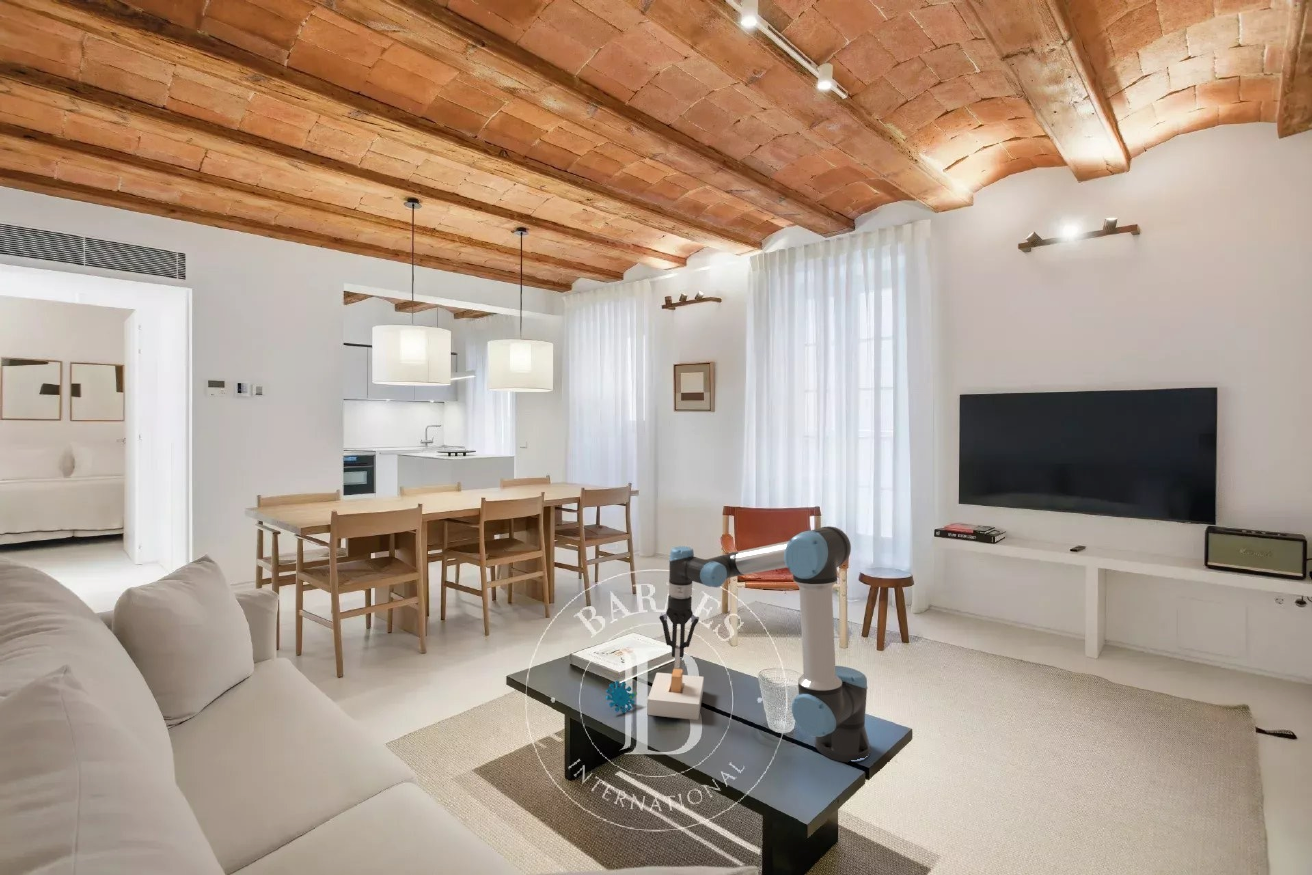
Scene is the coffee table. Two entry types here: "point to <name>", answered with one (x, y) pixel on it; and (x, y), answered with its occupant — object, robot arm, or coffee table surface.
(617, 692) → the blue virus model
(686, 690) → the block
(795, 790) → the coffee table surface
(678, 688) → the peg
